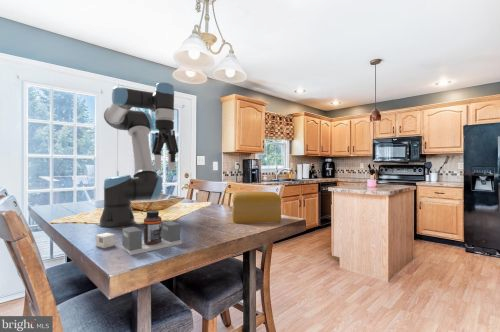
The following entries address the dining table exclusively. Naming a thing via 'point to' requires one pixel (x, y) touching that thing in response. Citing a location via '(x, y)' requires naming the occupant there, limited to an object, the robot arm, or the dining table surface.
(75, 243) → the dining table surface
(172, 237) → the board
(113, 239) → the block
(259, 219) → the bread
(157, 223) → the supplement bottle
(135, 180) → the robot arm
